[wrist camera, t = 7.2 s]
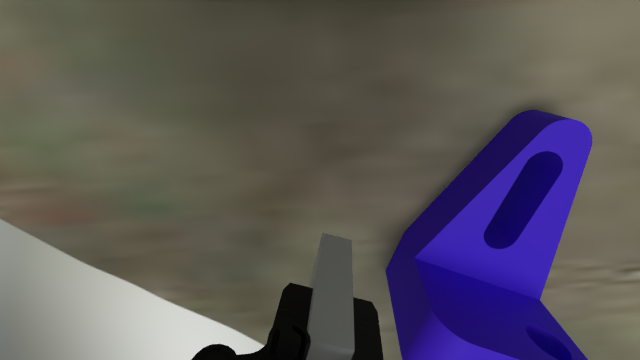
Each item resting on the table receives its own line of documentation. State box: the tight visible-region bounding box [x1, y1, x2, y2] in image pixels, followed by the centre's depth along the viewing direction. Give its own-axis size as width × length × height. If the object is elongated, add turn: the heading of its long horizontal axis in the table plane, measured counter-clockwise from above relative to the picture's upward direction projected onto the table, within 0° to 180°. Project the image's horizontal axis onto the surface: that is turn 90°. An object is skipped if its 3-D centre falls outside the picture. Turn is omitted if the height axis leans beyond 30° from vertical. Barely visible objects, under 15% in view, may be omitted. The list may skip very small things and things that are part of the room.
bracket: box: [386, 110, 592, 360], centre depth 22 cm, size 18×11×12 cm, turn 162°
